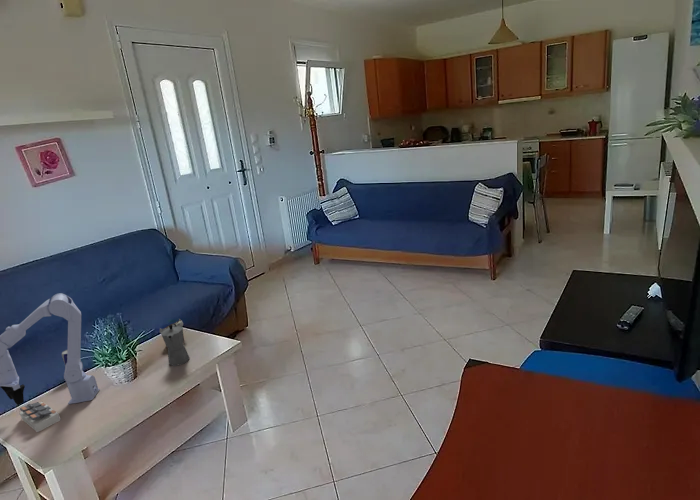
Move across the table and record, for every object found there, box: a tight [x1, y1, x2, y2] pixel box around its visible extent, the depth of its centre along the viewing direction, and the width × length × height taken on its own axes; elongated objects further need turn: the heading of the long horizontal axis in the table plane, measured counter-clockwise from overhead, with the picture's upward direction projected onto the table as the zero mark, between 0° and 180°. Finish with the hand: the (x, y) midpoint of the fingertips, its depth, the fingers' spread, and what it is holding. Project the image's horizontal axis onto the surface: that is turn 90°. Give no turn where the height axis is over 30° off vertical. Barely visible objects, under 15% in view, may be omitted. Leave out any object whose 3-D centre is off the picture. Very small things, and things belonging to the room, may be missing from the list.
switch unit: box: [19, 401, 61, 433], centre depth 173 cm, size 8×16×3 cm, turn 53°
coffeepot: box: [160, 323, 191, 367], centre depth 205 cm, size 15×9×18 cm, turn 13°
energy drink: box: [61, 349, 68, 366], centre depth 204 cm, size 5×5×12 cm
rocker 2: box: [25, 406, 46, 416], centre depth 172 cm, size 6×4×2 cm, turn 143°
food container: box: [159, 318, 185, 340], centre depth 224 cm, size 12×6×10 cm, turn 147°
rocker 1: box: [19, 401, 41, 413], centre depth 175 cm, size 6×4×2 cm, turn 143°
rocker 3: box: [29, 409, 52, 420], centre depth 169 cm, size 6×4×2 cm, turn 143°
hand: (16, 400), depth 174 cm, fingers open, 7 cm apart
